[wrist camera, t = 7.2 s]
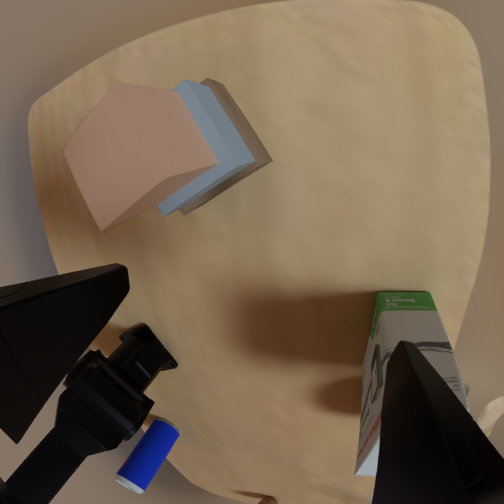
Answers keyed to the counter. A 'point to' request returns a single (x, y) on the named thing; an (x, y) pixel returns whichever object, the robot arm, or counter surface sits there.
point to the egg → (268, 501)
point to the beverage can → (147, 456)
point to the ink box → (381, 348)
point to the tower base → (245, 133)
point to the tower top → (218, 138)
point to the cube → (135, 152)
